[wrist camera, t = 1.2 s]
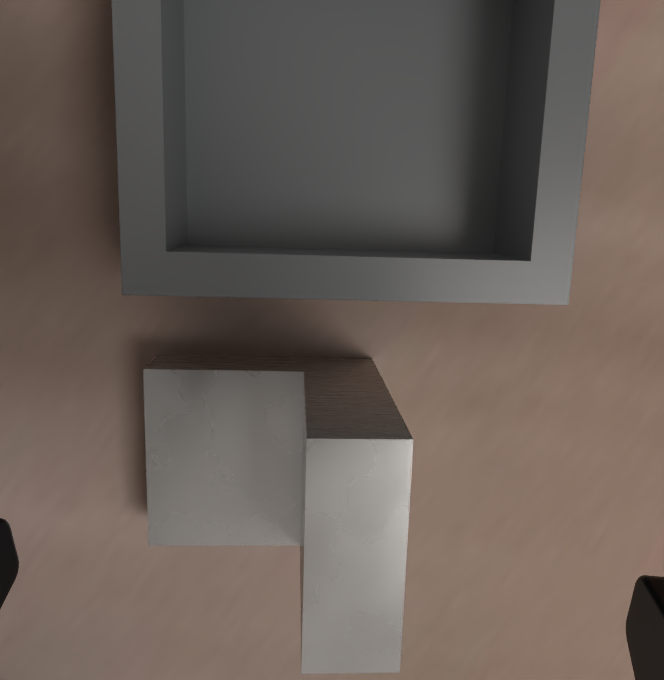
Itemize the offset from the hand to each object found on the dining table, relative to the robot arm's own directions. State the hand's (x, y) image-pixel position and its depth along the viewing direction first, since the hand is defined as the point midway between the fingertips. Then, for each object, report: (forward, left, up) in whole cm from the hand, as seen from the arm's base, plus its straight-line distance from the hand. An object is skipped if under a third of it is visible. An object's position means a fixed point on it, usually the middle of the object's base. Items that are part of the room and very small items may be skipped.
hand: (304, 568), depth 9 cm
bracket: (-3, +1, -13) cm, 14 cm away
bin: (+8, -1, -13) cm, 16 cm away
